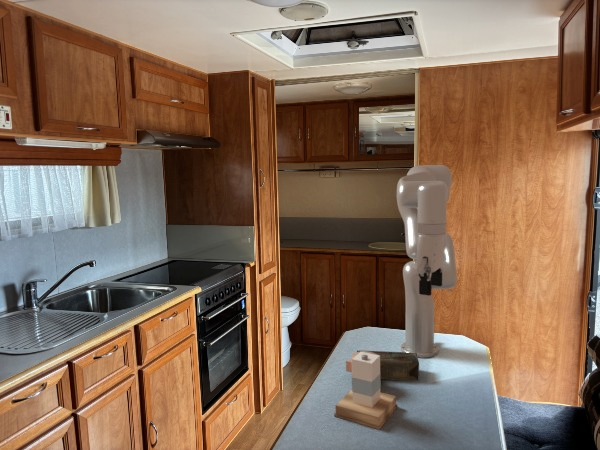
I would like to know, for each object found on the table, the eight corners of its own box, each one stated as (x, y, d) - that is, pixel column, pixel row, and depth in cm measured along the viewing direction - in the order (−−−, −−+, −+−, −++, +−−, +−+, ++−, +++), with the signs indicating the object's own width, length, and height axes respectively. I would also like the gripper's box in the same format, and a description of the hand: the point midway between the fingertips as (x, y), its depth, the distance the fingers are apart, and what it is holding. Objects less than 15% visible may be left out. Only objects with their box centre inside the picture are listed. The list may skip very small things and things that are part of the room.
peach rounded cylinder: (352, 375, 146) (352, 348, 145) (383, 383, 141) (383, 354, 139) (340, 386, 139) (340, 357, 138) (372, 394, 134) (372, 364, 133)
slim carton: (361, 393, 129) (360, 348, 127) (380, 398, 126) (380, 352, 124) (352, 402, 124) (351, 356, 122) (372, 407, 121) (371, 360, 119)
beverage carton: (420, 381, 141) (420, 360, 140) (355, 379, 144) (355, 359, 143) (416, 370, 149) (417, 350, 148) (355, 368, 152) (355, 348, 151)
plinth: (354, 395, 134) (354, 385, 134) (397, 406, 127) (397, 395, 127) (334, 416, 123) (334, 405, 123) (379, 429, 117) (379, 418, 116)
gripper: (428, 223, 137) (427, 280, 140) (407, 233, 123) (406, 296, 126) (454, 225, 133) (453, 283, 136) (435, 235, 119) (434, 300, 122)
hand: (430, 289), depth 131 cm, fingers open, 9 cm apart
